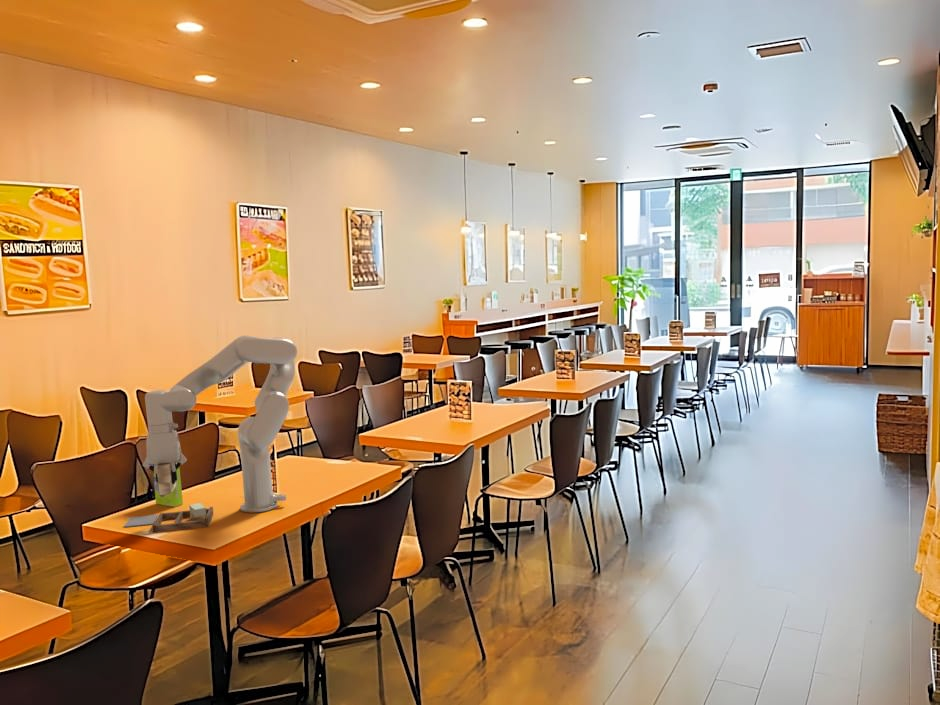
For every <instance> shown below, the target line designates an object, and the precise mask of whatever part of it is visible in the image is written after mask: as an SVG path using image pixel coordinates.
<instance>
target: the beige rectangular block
mask: <svg viewBox="0 0 940 705" xmlns="http://www.w3.org/2000/svg"><path fill="white" fill-rule="evenodd" d="M171 472H172V468H171V464H170V463H165V464H159V465H158V466H157V476H158V485H159V493H160V495H165V494H171V493H172V492H173V490H174V488H175V487H176V482H175V484H172V478H171Z"/></svg>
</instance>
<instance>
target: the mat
mask: <svg viewBox="0 0 940 705" xmlns="http://www.w3.org/2000/svg"><path fill="white" fill-rule="evenodd" d="M158 516H159V514H150V515H141V516H131V517H129V518H128V520H127V521H126V523H125V524H124V525H123V528H132V527H143V526H150V525H151V526H153V524H154V523H155V521H156V519H157V518H158Z"/></svg>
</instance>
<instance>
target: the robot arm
mask: <svg viewBox="0 0 940 705" xmlns="http://www.w3.org/2000/svg"><path fill="white" fill-rule="evenodd" d="M297 356H298V349H297V346H296V344H295V342H293V341H292V340H290V339H286V338H282V337H272V338H270V337H269V338H266V337H255V336H249V335H241V336H238V337H237V338H235V339H234V340H233V341H232V342H230V343H229V344H228V345H226V346H225V347H224V348H222V349H221V350H220V351H219V352H218V353H216V354H215V355H214V356H213V357H211V358H210V359H208V360H207V361H206V362H204V363H203V364H202V365H200V366H199V367H197V368H196V369H194V370H193V371H191V372H190V373H188V374H187V375H185V376H184V377H183V378H181V379H180V380H179V381H177V383H176V384H174V385H173V386H172V387H171V388H170V390H166V389H159V390H158V389H157V390H152V391H148V392H146V393H145V395H144V401H145V402H144V403H145V411H146V418H147V419H146V422H147V429H148V433H147V434H146V448H145V449H146V450H145V451H146V457H145V459H144V461H143V463H142V467H144V468H146V469H149V470H150V471H151V472H154V473H155V474H156V482H157V483H158V476H157V466H158V465H159V464H165V463H170V464H171V468H172V472H171V478H172V484H175V482H176V481H177V472H176V470H177V469H178V468H180V467H181V466H182V465H184V464H185V463H186V462H187V460H188V459H187V458H186V456H185V455H184V454H183V453H182V448H181V443H180V439H179V434H178V431H177V430H175V429H177V428H179V425H178V423H175V422H174V421H173V420H174V419H173V413H172V412H186V411H187V412H188V411H190V410H192V409H194V407H195V406H196V404H197V396H198V395H199V394H201V393H202V392H203V391H205V390H206V389H208V388H210V387H212V386H214V385H217V384H220V383H223V382H226V380H228V379H229V378H231V377H232V375H234V374H235V373H236V372H238V370H240V369H241V368H242V367H244V366H245V365H246V364H247V363H252V364H253V363H254V364H255V363H256V364H270V365H269V367H270V368H269V372H268V374H267V376H266V378H265V380H264V382H263V385H262V387H261V388H260V390H259V392H258V394H257V395H256V398H255V399H254V408H255V410H256V411H257V412H256V414H255V416H249V417H246V418H244V419H243V420H242V421H241V422H240V424H239V425H238V428H237V439H238V444H239V450H240V460H241V471H242V472H241V474H242V484H243V486H242V487H243V498H244V503H241V505H240V511H241V512H244V513H261V512H262V513H264V512H267V511H270V510H274V509H276V508H277V507H278V506H279V503H278V502H279V501H280V502H284V501H285V502H286V501H287V495H286V494H283V493H282V494H275V493H274V492H275V491H274V490H273V482H272V470H271V467H272V466H271V455H270V454H271V453H270V448H269V446H271V445H272V444H273V442H274V441H275V439H276V438H277V435H278V434H279V432H280V430H281V428H282V425H283V424H284V422H285V420H286V418H287V415H288V414H289V410H290V402H289V401H290V400H289V399H288V397H287V394H288V392H289V390H290V389H291V388H290V387H291V386H292V383H293V381H294V378H295V373H296V366H295V359H296V357H297ZM177 461H179V462H178V463H177V464H176V462H177ZM154 473H153V474H154Z"/></svg>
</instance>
